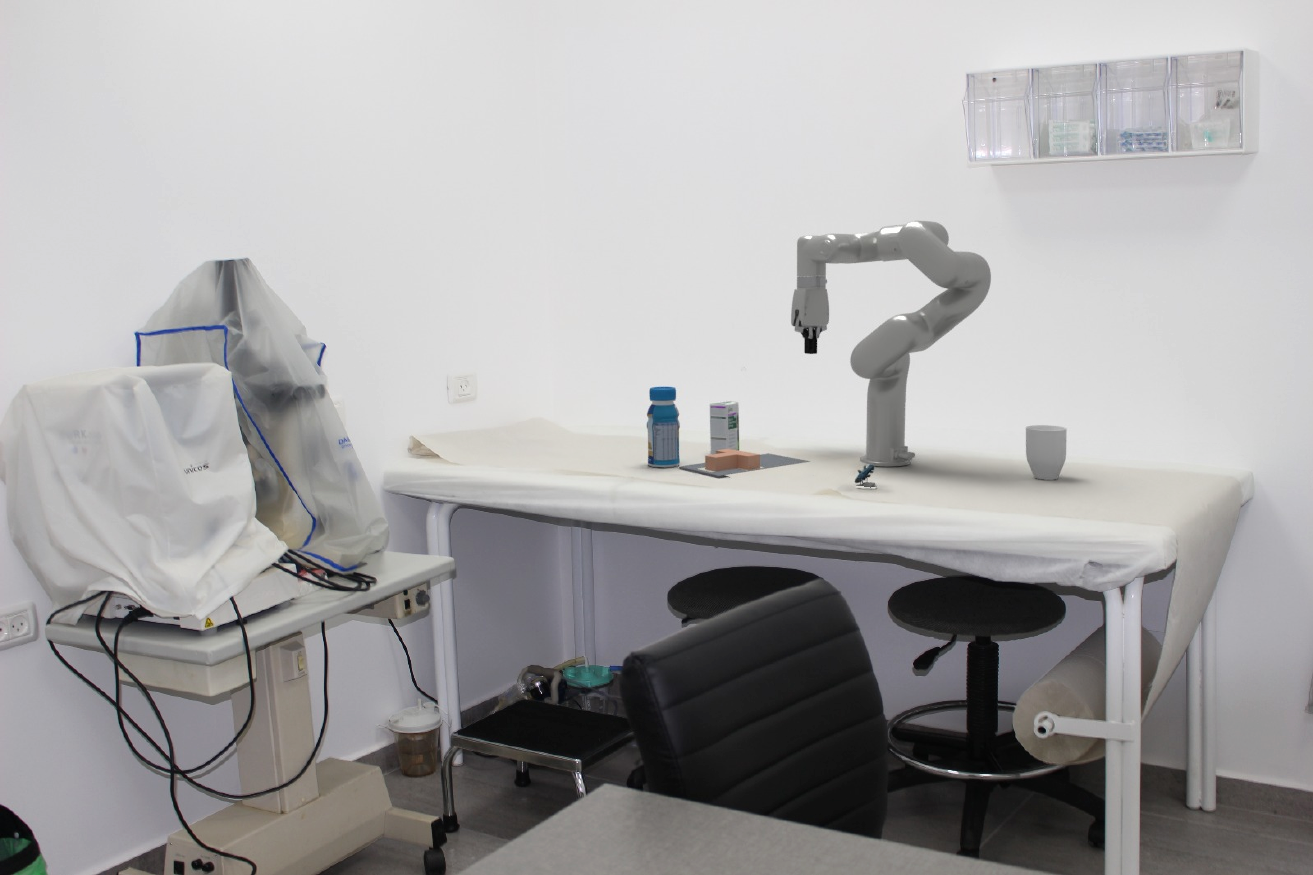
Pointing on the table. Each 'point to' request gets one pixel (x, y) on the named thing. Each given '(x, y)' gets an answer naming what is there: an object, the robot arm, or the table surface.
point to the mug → (1046, 450)
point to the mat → (765, 462)
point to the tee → (732, 460)
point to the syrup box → (724, 426)
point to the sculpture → (865, 476)
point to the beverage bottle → (663, 428)
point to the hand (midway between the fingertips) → (810, 353)
